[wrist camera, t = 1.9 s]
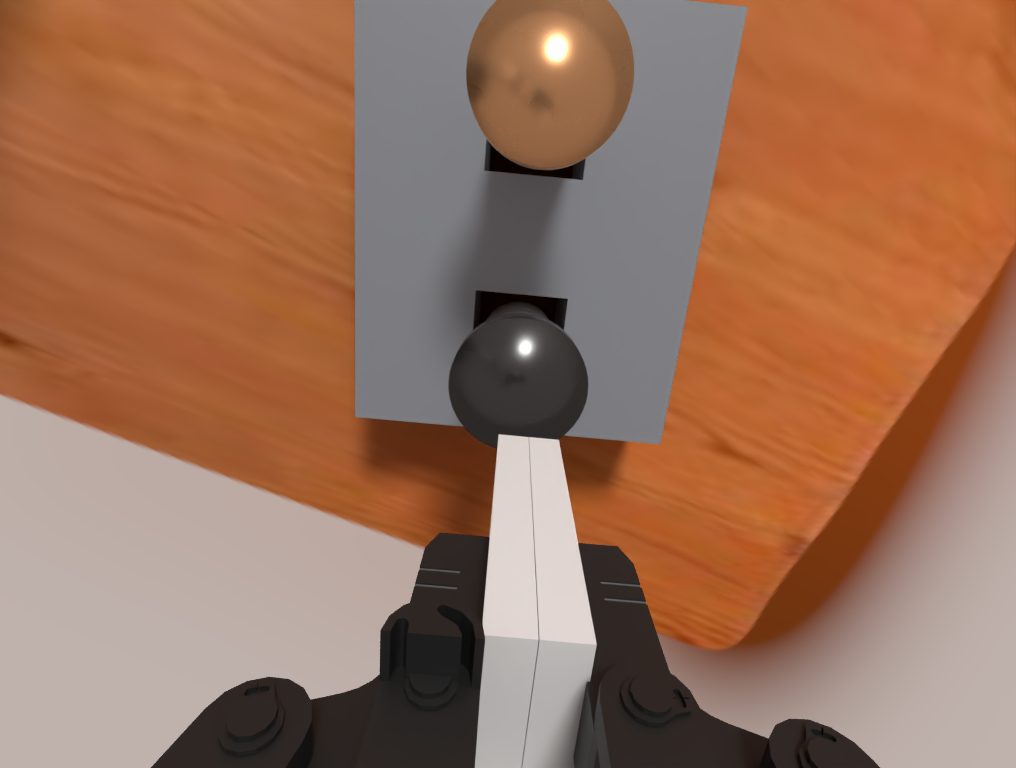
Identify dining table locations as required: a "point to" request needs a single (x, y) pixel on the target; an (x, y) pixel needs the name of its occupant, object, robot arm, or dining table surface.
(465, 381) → the plug black
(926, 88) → the dining table surface
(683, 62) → the socket board
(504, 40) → the plug terracotta
